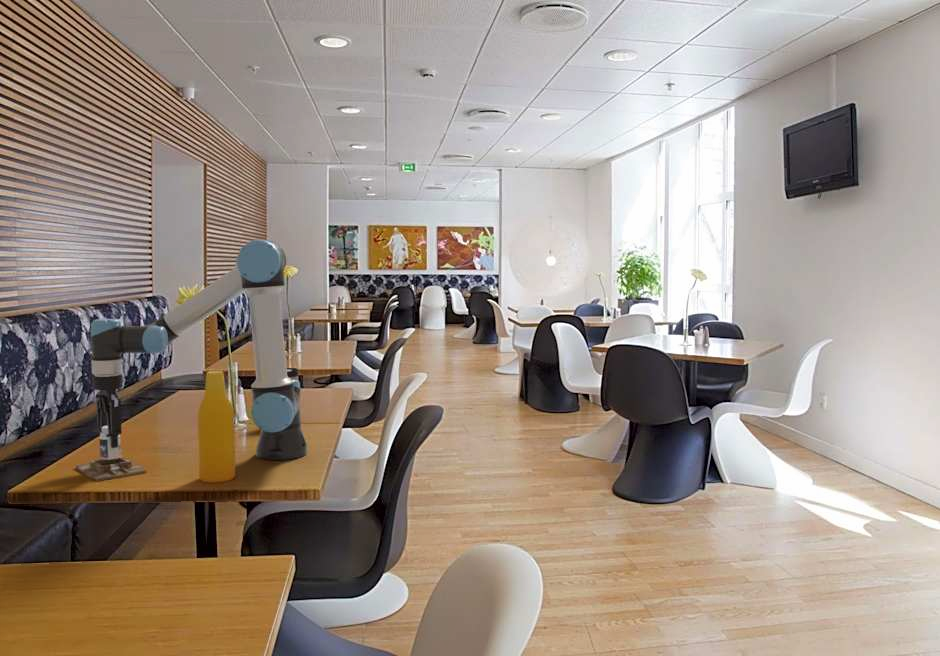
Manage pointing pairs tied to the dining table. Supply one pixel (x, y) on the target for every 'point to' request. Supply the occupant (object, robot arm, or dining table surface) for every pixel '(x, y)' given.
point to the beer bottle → (216, 432)
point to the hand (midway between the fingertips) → (110, 456)
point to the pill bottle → (105, 444)
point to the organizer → (110, 468)
